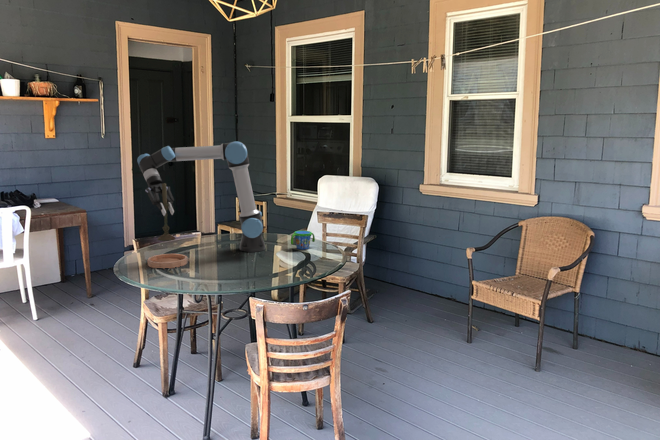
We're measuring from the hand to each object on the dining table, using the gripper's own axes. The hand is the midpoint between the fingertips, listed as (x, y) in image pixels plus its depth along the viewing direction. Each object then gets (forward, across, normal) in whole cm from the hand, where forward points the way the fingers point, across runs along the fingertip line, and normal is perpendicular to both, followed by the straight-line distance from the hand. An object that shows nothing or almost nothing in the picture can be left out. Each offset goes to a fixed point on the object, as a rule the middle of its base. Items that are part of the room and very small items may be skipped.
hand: (168, 213), depth 271 cm
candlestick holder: (+7, 0, -13) cm, 15 cm away
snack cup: (+31, -77, -8) cm, 84 cm away
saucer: (+17, 0, -22) cm, 28 cm away
